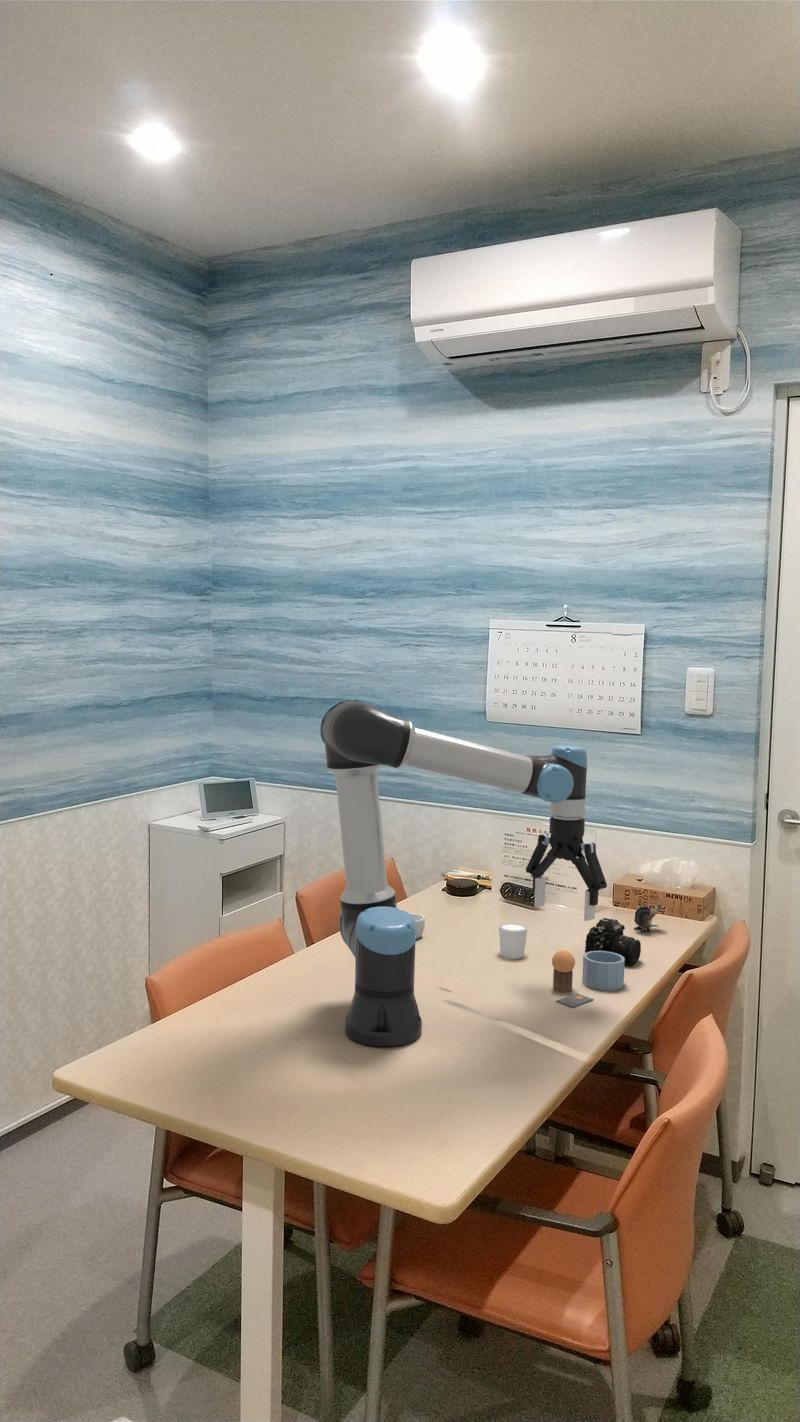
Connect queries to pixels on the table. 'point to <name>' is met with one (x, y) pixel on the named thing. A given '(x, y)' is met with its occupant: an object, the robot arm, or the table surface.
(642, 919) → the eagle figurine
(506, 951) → the white cylinder
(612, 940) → the film camera
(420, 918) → the teacup
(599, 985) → the tube
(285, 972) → the table surface
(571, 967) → the ball
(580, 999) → the card
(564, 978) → the tube
